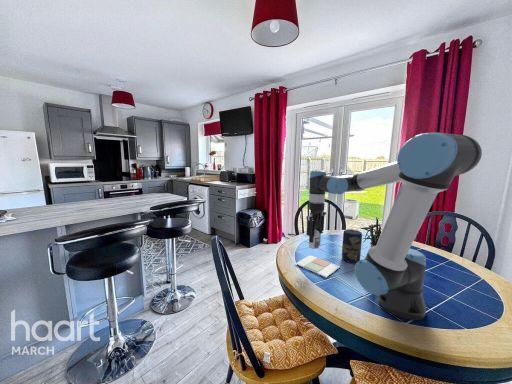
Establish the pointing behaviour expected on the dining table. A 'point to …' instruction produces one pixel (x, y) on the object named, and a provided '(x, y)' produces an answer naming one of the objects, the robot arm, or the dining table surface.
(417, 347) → the dining table surface
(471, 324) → the dining table surface
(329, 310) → the dining table surface
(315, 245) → the pill bottle
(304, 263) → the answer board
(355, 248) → the canister
